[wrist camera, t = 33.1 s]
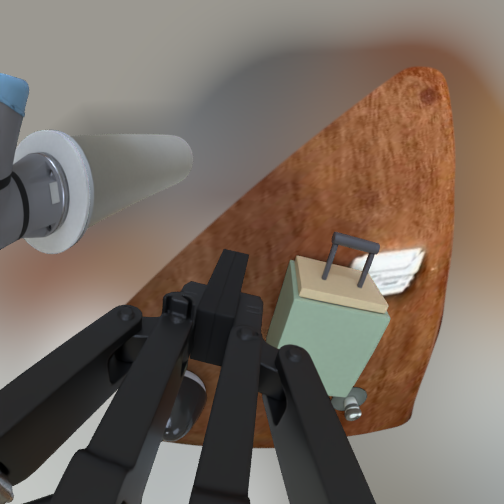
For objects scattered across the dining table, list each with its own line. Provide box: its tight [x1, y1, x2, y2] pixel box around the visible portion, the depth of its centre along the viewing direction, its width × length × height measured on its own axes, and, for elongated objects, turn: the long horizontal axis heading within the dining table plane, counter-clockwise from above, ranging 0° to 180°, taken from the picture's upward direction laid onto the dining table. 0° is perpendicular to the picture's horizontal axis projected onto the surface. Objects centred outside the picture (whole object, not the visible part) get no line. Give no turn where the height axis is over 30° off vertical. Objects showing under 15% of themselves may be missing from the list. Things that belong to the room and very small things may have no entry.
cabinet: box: [266, 260, 391, 397], centre depth 40 cm, size 15×13×12 cm
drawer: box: [294, 232, 388, 314], centre depth 39 cm, size 20×11×10 cm, turn 168°
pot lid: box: [331, 387, 367, 421], centre depth 51 cm, size 12×12×5 cm
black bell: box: [161, 370, 207, 442], centre depth 47 cm, size 10×10×15 cm
